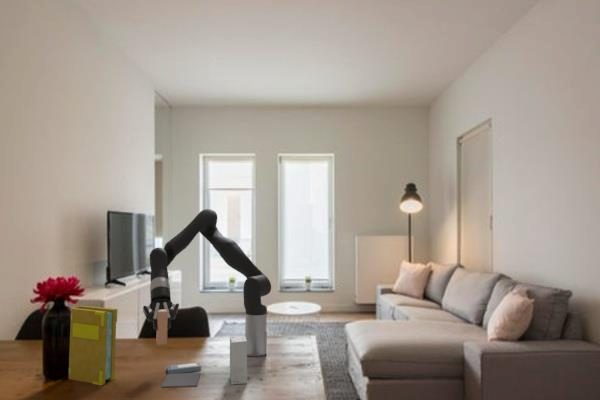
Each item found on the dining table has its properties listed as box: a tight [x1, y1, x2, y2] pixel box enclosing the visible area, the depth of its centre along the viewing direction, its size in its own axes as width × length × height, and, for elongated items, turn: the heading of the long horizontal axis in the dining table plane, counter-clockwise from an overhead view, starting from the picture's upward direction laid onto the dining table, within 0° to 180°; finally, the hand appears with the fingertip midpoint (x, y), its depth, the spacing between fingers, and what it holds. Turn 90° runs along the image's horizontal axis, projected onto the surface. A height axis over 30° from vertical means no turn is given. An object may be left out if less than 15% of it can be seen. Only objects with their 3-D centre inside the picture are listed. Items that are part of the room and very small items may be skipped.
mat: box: [161, 372, 202, 389], centre depth 155 cm, size 12×12×1 cm
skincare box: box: [229, 335, 248, 385], centre depth 156 cm, size 8×6×15 cm
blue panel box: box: [166, 361, 202, 374], centre depth 165 cm, size 12×5×2 cm, turn 112°
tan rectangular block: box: [155, 309, 168, 346], centre depth 163 cm, size 4×5×12 cm
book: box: [68, 305, 119, 386], centre depth 155 cm, size 17×7×25 cm, turn 71°
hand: (162, 329), depth 161 cm, fingers closed on tan rectangular block, 3 cm apart
